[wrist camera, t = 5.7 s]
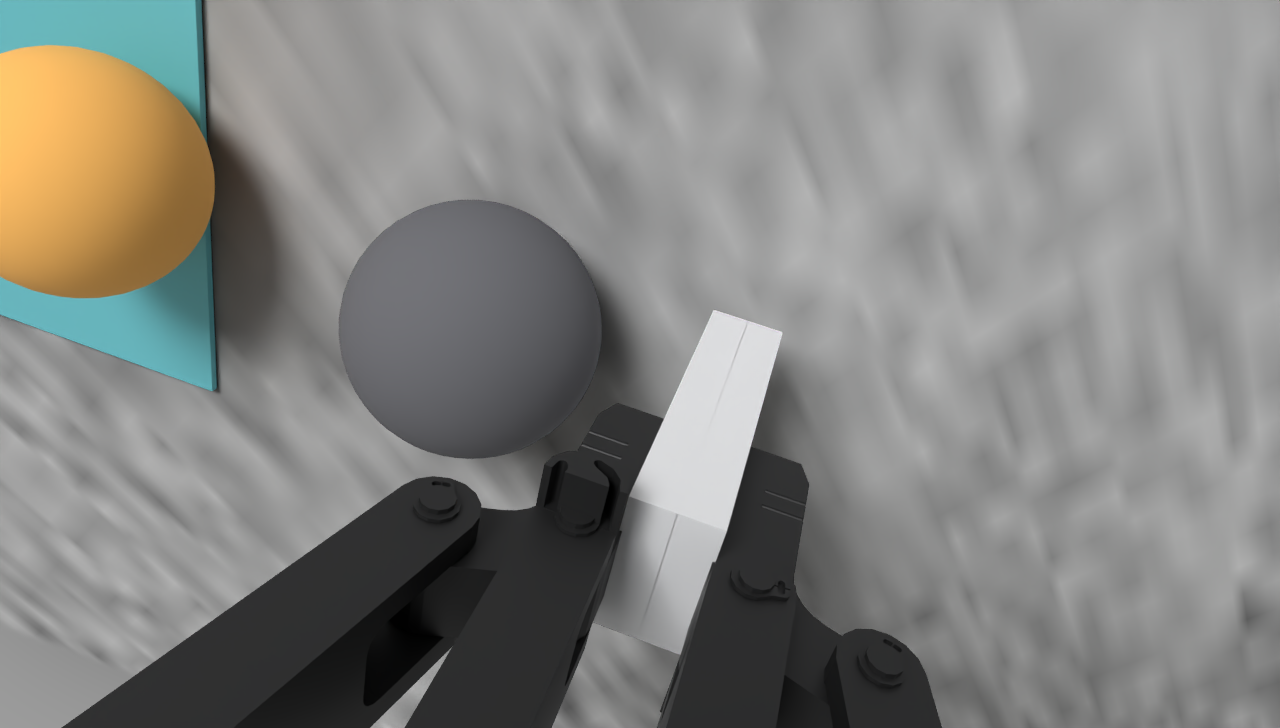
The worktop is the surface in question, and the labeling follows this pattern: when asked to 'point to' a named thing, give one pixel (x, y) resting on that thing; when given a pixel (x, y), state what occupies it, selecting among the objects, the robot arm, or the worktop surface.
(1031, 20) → the worktop surface
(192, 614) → the worktop surface
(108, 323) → the teal mark
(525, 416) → the gray ball
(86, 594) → the worktop surface
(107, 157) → the orange ball
